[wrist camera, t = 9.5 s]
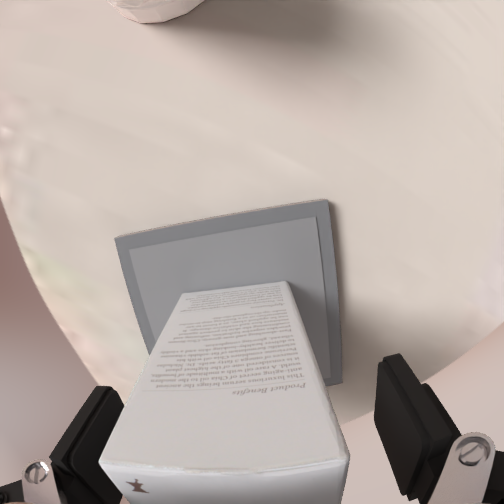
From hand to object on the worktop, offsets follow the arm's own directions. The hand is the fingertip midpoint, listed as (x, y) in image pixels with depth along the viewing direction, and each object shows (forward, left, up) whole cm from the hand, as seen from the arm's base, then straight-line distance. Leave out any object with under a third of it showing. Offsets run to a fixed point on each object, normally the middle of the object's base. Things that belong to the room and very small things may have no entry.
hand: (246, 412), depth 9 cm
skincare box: (0, 0, -8) cm, 8 cm away
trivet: (+1, 0, -9) cm, 9 cm away
